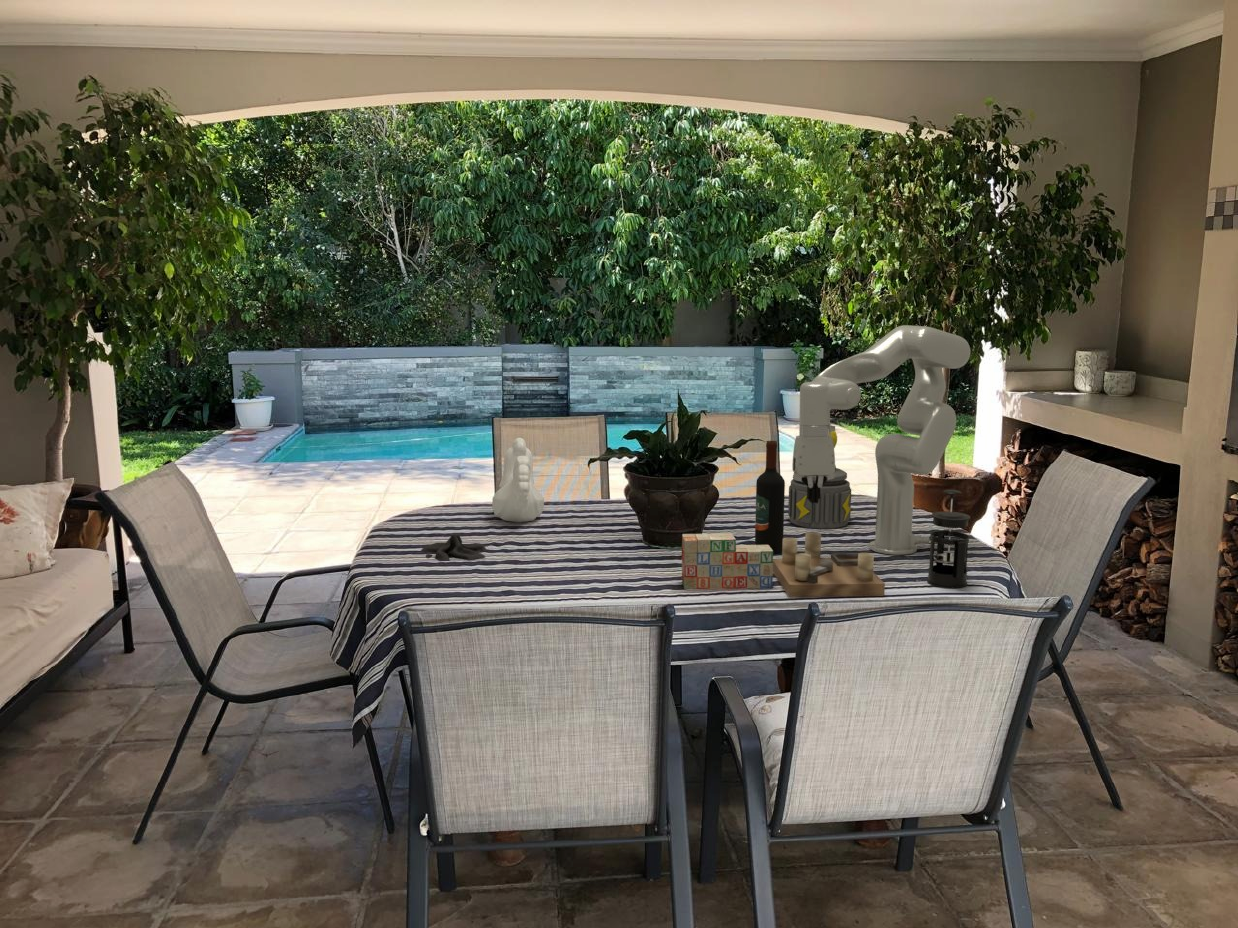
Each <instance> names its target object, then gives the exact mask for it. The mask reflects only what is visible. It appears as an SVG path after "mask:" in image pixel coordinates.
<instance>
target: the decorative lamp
mask: <svg viewBox="0 0 1238 928" xmlns="http://www.w3.org/2000/svg"><path fill="white" fill-rule="evenodd" d="M830 435H831V436H832V439H833V445H834V449H835V448H836V445H837V443H838V435H837V432H836V430H835V431H832V432H831V433H830ZM834 474H835V478H834V479H830V480H827V481H826V482H825V483H824V484H823V485H822V487H821V488H820V499H818V503H811V502H810V501H809V499H807V486H806V484H804V483H803V482H802V481H797V480H794V479H793V478H792V479H791V480H790V485H789V486H788V504H787V506H788V507H787V508H788V509H787V514H788V517H789V522H791V524H792V525H795V526H797V527H801V528H807V529H816V530H817V529H818V530H831V529H832V530H833V529H839V528H844V527H845V526H847V525H848V524H849V521H850V519H851V514H852V513H851V511H852V507H851V506H852V488H851V484H850V481H848V480H847V478H848V473H847V471H844V470H843V469H841V468H837V467H836V464H835V472H834ZM815 477H816V476H812V481H813V485H814V483H815Z"/></svg>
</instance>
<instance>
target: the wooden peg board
mask: <svg viewBox="0 0 1238 928" xmlns="http://www.w3.org/2000/svg"><path fill="white" fill-rule="evenodd" d="M796 554H798V538H796V537H783V547H782V553H781V556H782V557H781V558H773V576H775V578H776V579H777V581H778V582H779V583H780V585H781V587H782V589H783V590H784V592H785V593H786V594H787V596H788V597H789V598H817V597H818V598H822V597H823V598H825V597H827V598H829V597H837V598H838V597H839V598H840V597H885V593H886V591H885V587H886V584H885V582H884V581H883V580H882V579H881V578H880V577H879V576H878V575H877V574H876V572H874V564H875V563H874V559H875V554H874V553H871V552H858V553H857V552H855V553H853V552H851V553H848V552H847V553H845V552H844V553H830V557H828V558H826V557H824V558H823V557H822V558H821V557H820V558H811V569H813V568H816V567H818V566H820V560H831V561H833V570H832V571H827V572H824V573H822V574H819V575H818V574H815V573H810V574H808V580H806V581H801V580H796V579H795V556H796Z"/></svg>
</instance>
